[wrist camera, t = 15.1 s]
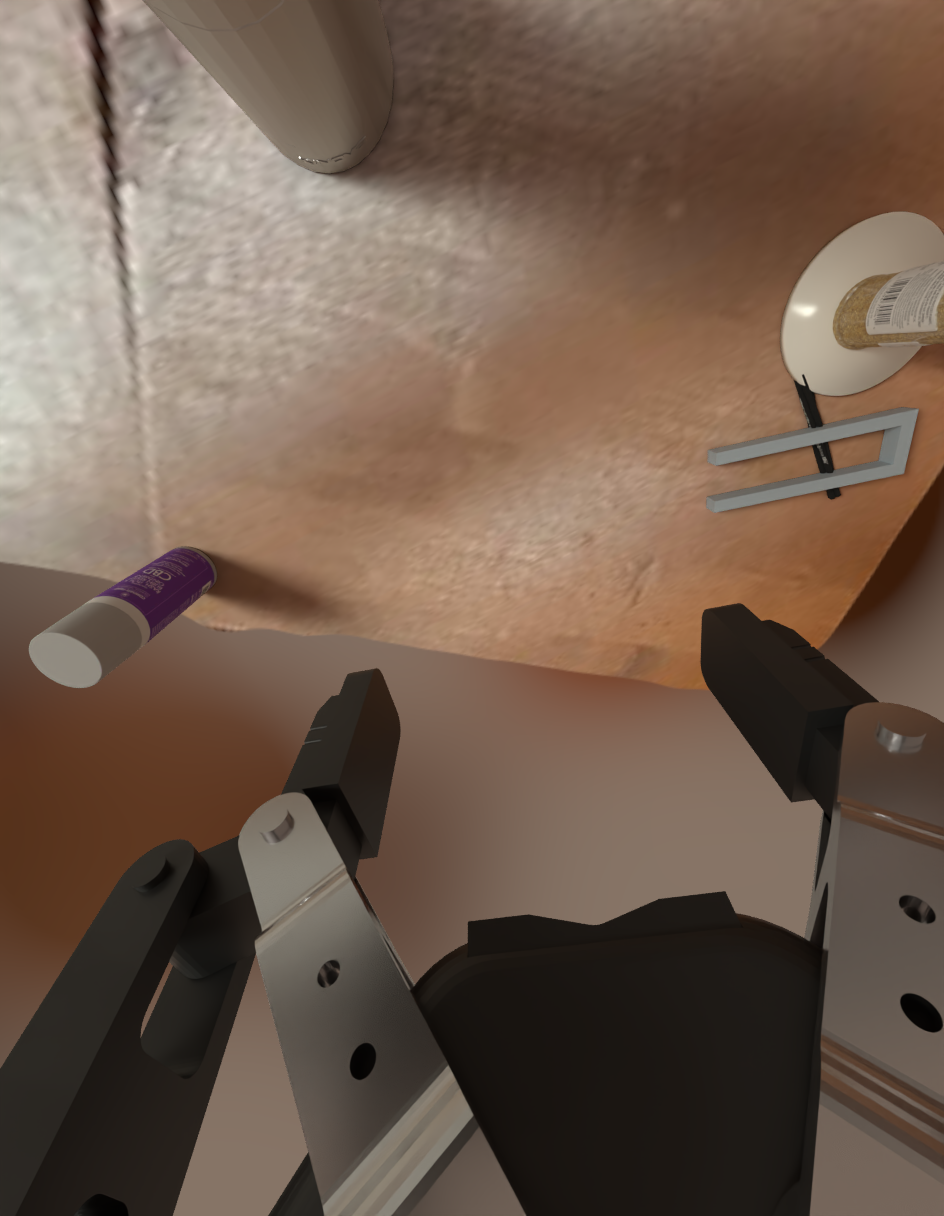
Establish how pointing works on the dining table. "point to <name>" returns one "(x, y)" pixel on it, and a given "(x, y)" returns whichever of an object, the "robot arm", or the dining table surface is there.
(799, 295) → the coaster
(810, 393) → the black marker pen
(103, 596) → the container
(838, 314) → the sprinkles bottle
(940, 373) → the dining table surface
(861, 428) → the grey u-shaped piece
